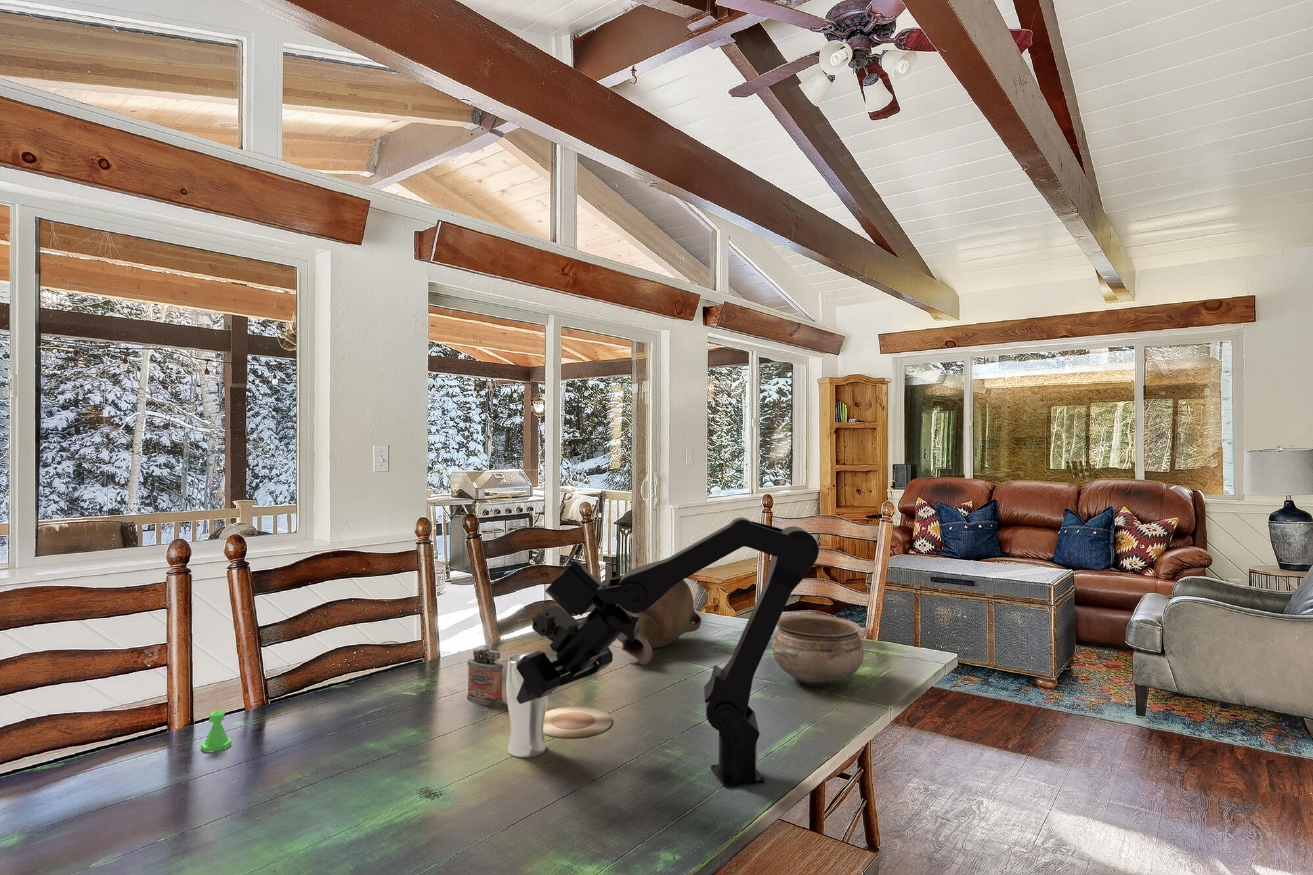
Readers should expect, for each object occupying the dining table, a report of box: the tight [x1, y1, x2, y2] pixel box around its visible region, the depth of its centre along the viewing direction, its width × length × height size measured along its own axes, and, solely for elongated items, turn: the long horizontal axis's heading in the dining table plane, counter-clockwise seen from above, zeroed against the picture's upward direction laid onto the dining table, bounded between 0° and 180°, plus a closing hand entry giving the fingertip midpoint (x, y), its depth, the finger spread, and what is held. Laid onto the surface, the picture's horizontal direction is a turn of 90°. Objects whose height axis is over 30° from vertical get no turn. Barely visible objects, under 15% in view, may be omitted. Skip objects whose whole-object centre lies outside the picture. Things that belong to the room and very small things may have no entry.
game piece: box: [200, 709, 233, 753], centre depth 119 cm, size 4×4×6 cm
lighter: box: [466, 647, 504, 707], centre depth 141 cm, size 8×3×10 cm, turn 62°
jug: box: [612, 575, 702, 666], centre depth 178 cm, size 20×20×30 cm
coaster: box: [544, 706, 613, 739], centre depth 131 cm, size 14×14×1 cm
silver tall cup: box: [505, 651, 549, 759], centre depth 119 cm, size 7×7×15 cm
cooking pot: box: [772, 614, 865, 688], centre depth 155 cm, size 25×19×12 cm
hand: (537, 692), depth 118 cm, fingers open, 9 cm apart
